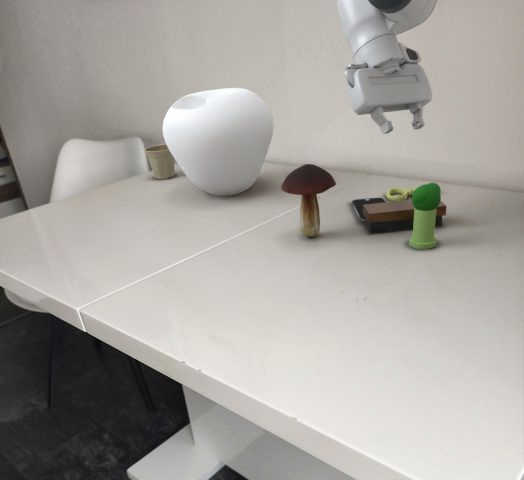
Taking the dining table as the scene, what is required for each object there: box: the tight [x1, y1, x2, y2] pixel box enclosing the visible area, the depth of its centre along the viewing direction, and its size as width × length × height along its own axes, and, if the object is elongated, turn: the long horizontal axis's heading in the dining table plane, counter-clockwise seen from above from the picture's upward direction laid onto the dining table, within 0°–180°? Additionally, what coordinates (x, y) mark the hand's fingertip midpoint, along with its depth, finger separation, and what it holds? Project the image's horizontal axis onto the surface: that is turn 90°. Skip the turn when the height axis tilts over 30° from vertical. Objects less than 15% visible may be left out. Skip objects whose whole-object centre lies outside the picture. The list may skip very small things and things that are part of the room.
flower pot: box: [143, 143, 176, 180], centre depth 164 cm, size 9×9×9 cm
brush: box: [363, 199, 448, 234], centre depth 114 cm, size 16×6×4 cm, turn 93°
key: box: [385, 187, 417, 202], centre depth 131 cm, size 7×12×2 cm, turn 110°
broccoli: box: [408, 182, 442, 250], centre depth 103 cm, size 6×5×12 cm
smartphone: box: [351, 197, 386, 224], centre depth 124 cm, size 8×1×15 cm
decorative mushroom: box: [280, 163, 337, 239], centre depth 110 cm, size 11×11×15 cm
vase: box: [162, 87, 274, 197], centre depth 141 cm, size 28×27×25 cm
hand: (404, 130), depth 106 cm, fingers open, 8 cm apart
